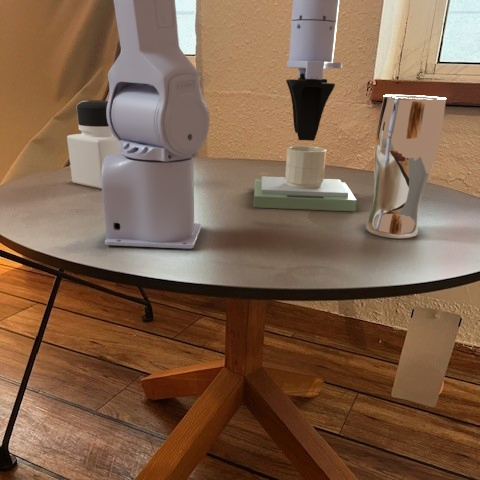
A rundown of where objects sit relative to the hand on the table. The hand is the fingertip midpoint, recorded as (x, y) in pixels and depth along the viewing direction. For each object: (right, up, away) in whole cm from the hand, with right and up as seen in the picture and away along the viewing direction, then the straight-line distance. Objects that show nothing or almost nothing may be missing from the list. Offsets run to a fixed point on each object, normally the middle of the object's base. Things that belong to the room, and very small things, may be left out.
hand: (304, 136), depth 69 cm
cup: (0, -6, +4) cm, 7 cm away
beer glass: (+10, -15, -8) cm, 19 cm away
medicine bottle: (-30, -4, +11) cm, 33 cm away
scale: (0, -8, +5) cm, 9 cm away
